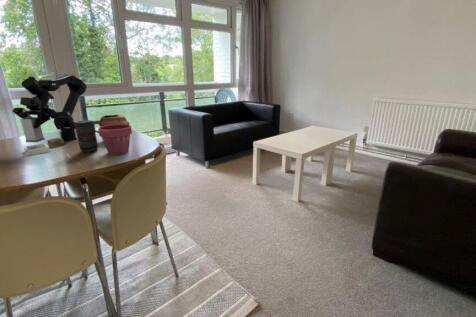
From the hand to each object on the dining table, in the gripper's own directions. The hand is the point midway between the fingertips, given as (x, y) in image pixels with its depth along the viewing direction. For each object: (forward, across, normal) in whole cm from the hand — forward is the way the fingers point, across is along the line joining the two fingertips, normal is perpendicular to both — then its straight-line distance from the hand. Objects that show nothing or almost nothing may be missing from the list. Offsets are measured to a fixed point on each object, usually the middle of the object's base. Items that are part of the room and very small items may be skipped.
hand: (29, 128), depth 123 cm
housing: (+4, 0, +6) cm, 7 cm away
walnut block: (0, +1, +18) cm, 18 cm away
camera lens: (+7, +25, +11) cm, 28 cm away
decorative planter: (-8, +25, +27) cm, 38 cm away
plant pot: (+7, +40, +10) cm, 42 cm away
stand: (+8, -1, +10) cm, 12 cm away
